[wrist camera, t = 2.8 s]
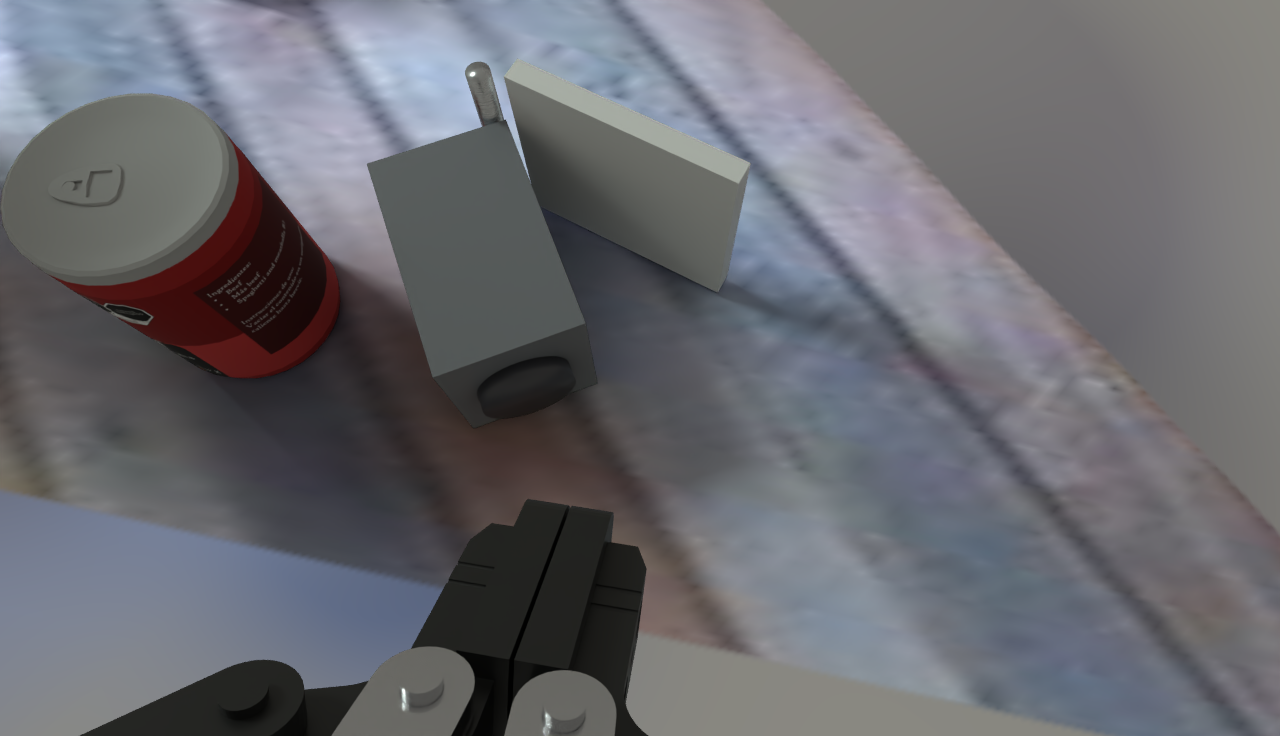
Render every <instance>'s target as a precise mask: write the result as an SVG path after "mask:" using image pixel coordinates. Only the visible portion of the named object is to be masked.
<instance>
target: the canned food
mask: <svg viewBox="0 0 1280 736" xmlns="http://www.w3.org/2000/svg"><path fill="white" fill-rule="evenodd" d="M0 209H1V215H2V222H3V226H4V229H5V231H6V233H7V235H8V237H9V240H10V241H11V243H12V244H13V245H14V246H15V247H16V249H17V250H18V251H19V252H20V253H21V254H22V255H23V256H24V257H26V258H27V259H29V260H30V261H31V262H32V264H34V265H35V266H37V267H38V268H40V269H41V270H42V271H44V272H45V273H47V274H48V275H50V276H51V277H53V278H55V279H56V280H58V281H59V282H61V283H62V284H64V285H65V286H67V287H68V288H70V289H71V290H73V291H74V292H76V293H78V294H79V295H81V296H83V297H84V298H86V299H87V300H89V301H91V302H92V303H94V304H96V305H97V306H99V307H101V308H102V309H104V310H106V311H107V312H109V313H110V314H112V315H114V316H115V317H117V318H119V319H120V320H122V321H124V322H125V323H127V324H128V325H130V326H132V327H133V328H135V329H137V330H138V331H140V332H142V333H143V334H145V335H146V336H148V337H150V338H151V339H153V340H155V341H156V342H158V343H160V344H161V345H163V346H164V347H166V348H168V349H169V350H171V351H173V352H174V353H176V354H178V355H179V356H181V357H182V358H184V359H186V360H187V361H189V362H191V363H192V364H194V365H196V366H197V367H199V368H201V369H203V370H205V371H208V372H210V373H213V374H216V375H222V376H227V377H234V378H261V377H266V376H272V375H275V374H278V373H281V372H283V371H286V370H289V369H290V368H292V367H294V366H296V365H298V364H300V363H301V362H303V361H304V360H305V359H307V358H308V357H309V356H311V355H312V354H313V353H314V352H315V351H316V350H317V349H318V348H319V347H320V346H321V345H322V344H323V343H324V342H325V340H326V339H327V337H328V335H329V334H330V332H331V331H332V329H333V327H334V324H335V322H336V319H337V317H338V312H339V306H340V292H339V284H338V279H337V276H336V273H335V270H334V267H333V266H332V264H331V262H330V261H329V259H328V257H327V256H326V255H325V253H324V252H323V251H322V250H321V248H320V247H319V246H318V245H317V244H316V242H315V241H314V240H313V239H312V237H311V236H310V235H309V234H308V232H307V231H306V230H305V229H304V228H303V226H302V225H301V224H300V223H299V221H298V220H297V219H296V218H295V216H294V215H293V214H292V213H291V212H290V210H289V209H288V208H287V207H286V205H285V204H284V203H283V202H282V201H281V199H280V198H279V197H278V196H277V194H276V193H275V192H274V191H273V189H272V188H271V187H270V186H269V185H268V183H267V182H266V181H265V180H264V178H263V177H262V176H261V175H260V173H259V172H258V171H257V170H256V169H255V167H254V166H253V165H252V164H251V162H250V161H249V160H248V159H247V157H246V156H245V155H244V154H243V153H242V151H241V150H240V149H239V148H238V147H237V146H236V145H235V144H234V143H233V141H232V140H231V139H230V138H229V136H228V135H227V134H226V133H225V132H224V131H223V130H222V129H221V128H220V127H219V126H218V125H217V124H216V123H215V122H214V121H213V120H211V119H210V118H209V117H208V116H207V115H206V114H205V113H204V112H203V111H201V110H200V109H198V108H196V107H195V106H193V105H191V104H190V103H188V102H185V101H182V100H179V99H176V98H173V97H170V96H163V95H157V94H126V95H119V96H113V97H108V98H104V99H101V100H98V101H94V102H91V103H88V104H86V105H83V106H81V107H79V108H77V109H75V110H73V111H70V112H68V113H66V114H65V115H63V116H62V117H60V118H59V119H57V120H55V121H54V122H52V123H51V124H49V125H48V126H47V127H46V128H44V129H43V130H42V131H41V132H40V133H39V134H37V135H36V136H35V137H34V138H33V139H32V140H31V141H30V142H29V143H28V145H27V146H26V147H25V148H24V149H23V150H22V152H21V153H20V154H19V155H18V157H17V159H16V160H15V162H14V164H13V165H12V167H11V169H10V171H9V172H8V175H7V178H6V181H5V184H4V187H3V190H2V198H1V207H0Z"/></svg>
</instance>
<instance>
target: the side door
mask: <svg viewBox="0 0 1280 736" xmlns="http://www.w3.org/2000/svg"><path fill="white" fill-rule="evenodd" d="M504 79H505V83H506V87H507V91H508V95H509V99H510V103H511V107H512V111H513V114H514V118H515V122H516V126H517V130H518V134H519V138H520V142H521V146H522V150H523V154H524V157H525V161H526V165H527V169H528V173H529V177H530V181H531V185H532V188H533V190H534V193H535V195H536V198H537V201H538V203H539V206H540V207H542V208H544V209H546V210H548V211H550V212H553V213H555V214H557V215H559V216H561V217H563V218H565V219H567V220H569V221H571V222H573V223H575V224H577V225H579V226H581V227H583V228H585V229H587V230H590V231H592V232H594V233H596V234H598V235H600V236H602V237H604V238H606V239H608V240H610V241H612V242H614V243H616V244H618V245H620V246H622V247H625V248H627V249H629V250H631V251H633V252H635V253H637V254H639V255H641V256H643V257H645V258H647V259H649V260H651V261H653V262H655V263H657V264H660V265H662V266H664V267H666V268H668V269H670V270H672V271H674V272H676V273H678V274H680V275H682V276H684V277H686V278H688V279H690V280H692V281H695V282H697V283H699V284H701V285H703V286H705V287H707V288H709V289H711V290H713V291H715V292H717V293H718V291H719V290H720V288H721V286H722V284H723V283H724V281H725V279H726V277H727V274H728V270H729V265H730V260H731V255H732V250H733V246H734V241H735V236H736V231H737V226H738V222H739V217H740V212H741V207H742V202H743V198H744V193H745V188H746V183H747V178H748V174H749V169H750V164H751V163H749V162H747V161H744V160H742V159H740V158H738V157H736V156H733V155H731V154H729V153H727V152H724V151H722V150H720V149H718V148H715V147H713V146H711V145H709V144H707V143H704V142H702V141H700V140H698V139H695V138H693V137H691V136H689V135H687V134H684V133H682V132H680V131H678V130H675V129H673V128H671V127H669V126H666V125H664V124H662V123H660V122H658V121H655V120H653V119H651V118H649V117H646V116H644V115H642V114H640V113H638V112H635V111H633V110H631V109H629V108H626V107H624V106H622V105H620V104H617V103H615V102H613V101H611V100H609V99H606V98H604V97H602V96H600V95H597V94H595V93H593V92H591V91H589V90H586V89H584V88H582V87H580V86H577V85H575V84H573V83H571V82H568V81H566V80H564V79H562V78H560V77H557V76H555V75H553V74H551V73H548V72H546V71H544V70H542V69H539V68H537V67H535V66H533V65H531V64H528V63H526V62H524V61H522V60H519V59H517V60H516V61H515V63H514V64H513V65H512V67H511V68H510V69H509V71H508V72H507V73H506V75H505V76H504Z"/></svg>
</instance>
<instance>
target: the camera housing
mask: <svg viewBox="0 0 1280 736" xmlns="http://www.w3.org/2000/svg"><path fill="white" fill-rule="evenodd" d="M465 75H466V78H467V81H468V85H469V88H470V91H471V94H472V97H473V100H474V103H475V106H476V109H477V112H478V116H479V119H480V122H481V125H482V127H481V128H478V129H475V130H471V131H468V132H465V133H462V134H459V135H456V136H453V137H450V138H446V139H443V140H440V141H437V142H434V143H431V144H428V145H424V146H421V147H418V148H415V149H412V150H409V151H406V152H403V153H399V154H396V155H393V156H390V157H387V158H384V159H381V160H378V161H374V162H371V163H368V164H367V166H368V170H369V173H370V176H371V179H372V182H373V186H374V189H375V192H376V195H377V199H378V202H379V205H380V208H381V212H382V215H383V218H384V221H385V225H386V228H387V231H388V234H389V238H390V241H391V244H392V247H393V250H394V254H395V257H396V260H397V263H398V267H399V270H400V273H401V276H402V280H403V283H404V286H405V289H406V293H407V296H408V299H409V302H410V306H411V309H412V312H413V315H414V318H415V322H416V325H417V328H418V331H419V335H420V338H421V341H422V344H423V348H424V351H425V354H426V357H427V361H428V364H429V367H430V370H431V374H432V377H433V379H434V380H435V381H436V382H437V383H438V385H439V386H440V387H441V388H442V390H443V391H444V392H445V393H446V395H447V396H448V397H449V398H450V400H451V401H452V402H453V403H454V405H455V406H456V407H457V408H458V410H459V411H460V412H461V413H462V415H463V416H464V417H465V418H466V420H467V421H468V422H469V423H470V424H471V426H472V427H473V428H476V427H479V426H482V425H485V424H487V423H490V422H493V421H495V420H498V419H505V418H513V417H518V416H522V415H526V414H530V413H533V412H536V411H538V410H541V409H543V408H546V407H548V406H550V405H552V404H554V403H556V402H557V401H559V400H561V399H562V398H564V397H565V396H566V395H568V394H569V393H572V392H575V391H577V390H580V389H583V388H586V387H588V386H591V385H594V384H597V378H596V373H595V368H594V363H593V358H592V353H591V348H590V343H589V338H588V333H587V327H586V323H585V320H584V318H583V315H582V313H581V310H580V308H579V305H578V302H577V300H576V297H575V295H574V292H573V290H572V287H571V285H570V282H569V280H568V277H567V274H566V272H565V269H564V267H563V264H562V262H561V259H560V257H559V254H558V252H557V249H556V246H555V244H554V241H553V239H552V236H551V234H550V231H549V229H548V226H547V223H546V221H545V218H544V216H543V213H542V211H541V208H540V206H539V203H538V201H537V198H536V195H535V193H534V190H533V188H532V185H531V183H530V180H529V178H528V175H527V173H526V170H525V167H524V165H523V162H522V160H521V157H520V155H519V152H518V150H517V147H516V145H515V142H514V139H513V137H512V134H511V132H510V129H509V127H508V124H507V122H506V120H504V118H503V114H502V110H501V107H500V103H499V100H498V96H497V92H496V89H495V85H494V81H493V78H492V74H491V71H490V68H489V66H488V65H487V64H486V63H483V62H474V63H472V64H470V65H469V66H468V67H467V68H466V70H465Z"/></svg>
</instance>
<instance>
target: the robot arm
mask: <svg viewBox="0 0 1280 736" xmlns="http://www.w3.org/2000/svg"><path fill="white" fill-rule="evenodd" d="M613 517H614V515H613V512H607V511H601V510H595V509H588V508H582V507H576V506H572V507H571V508H570V506H569V505H562V504H556V503H550V502H544V501H537V500H531V499H527V500H526V502H525V504H524V506H523V508H522V510H521V512H520V514H519V516H518V519H517V521H516V523H515V525H514V527H512V526H506V525H500V524H494V523H492V524H490V525H489V526H488V527H486V528H485V529H484V530H482V531H481V532H480V533H478V534H477V535H476V536H474V537H473V538H472V539H470V541H469V543H468V544H467V546H466V548H465V550H464V552H463V554H462V556H461V557H460V559H459V561H458V566H457V565H456V567H455V568H454V570H453V572H452V574H451V576H450V578H449V582H448V583H446V585H445V587H444V589H443V591H442V592H441V594H440V596H439V598H438V600H437V602H436V604H435V606H434V607H433V609H432V611H431V613H430V615H429V617H428V618H427V620H426V622H425V624H424V626H423V628H422V629H421V631H420V633H419V635H418V637H417V639H416V641H415V642H414V644H413V646H412V648H411V649H409V650H406V651H403V652H401V653H399V654H397V655H395V656H393V657H391V658H390V659H388V660H387V661H385V662H384V663H383V664H382V665H381V666H380V667H379V668H378V669H377V670H376V672H375V673H374V674H373V676H372V677H371V678H370V680H369V681H367V682H362V683H359V684H354V685H348V686H339V687H328V688H318V689H308V690H304V685H303V680H302V679H301V676H300V675H299V673H297V671H296V670H295V669H293V668H292V667H290V666H289V665H287V664H284V663H282V662H278V661H273V660H254V661H249V662H244V663H240V664H237V665H233V666H231V667H229V668H226V669H224V670H222V671H219V672H217V673H215V674H213V675H211V676H208V677H206V678H204V679H202V680H200V681H197V682H195V683H193V684H191V685H189V686H187V687H184V688H182V689H180V690H178V691H176V692H174V693H172V694H169V695H167V696H165V697H163V698H161V699H158V700H156V701H154V702H152V703H150V704H148V705H145V706H143V707H141V708H139V709H137V710H135V711H132V712H130V713H128V714H126V715H124V716H121V717H119V718H117V719H115V720H113V721H111V722H108V723H106V724H104V725H102V726H100V727H98V728H96V729H93V730H91V731H89V732H87V733H85V734H82V735H80V736H648V735H646V734H645V733H644V732H643V731H642V730H641V729H640V728H639V727H638V726H637V725H636V724H635V722H634V721H633V719H632V718H631V716H630V714H629V712H628V710H627V708H626V698H627V693H628V687H629V682H630V676H631V671H632V665H633V660H634V654H635V649H636V643H637V638H638V630H639V623H640V615H641V607H642V599H643V592H644V584H645V576H646V566H645V564H644V561H643V559H642V556H641V553H640V551H639V548H638V547H636V546H630V545H624V544H618V543H611V539H612V529H613Z"/></svg>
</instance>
